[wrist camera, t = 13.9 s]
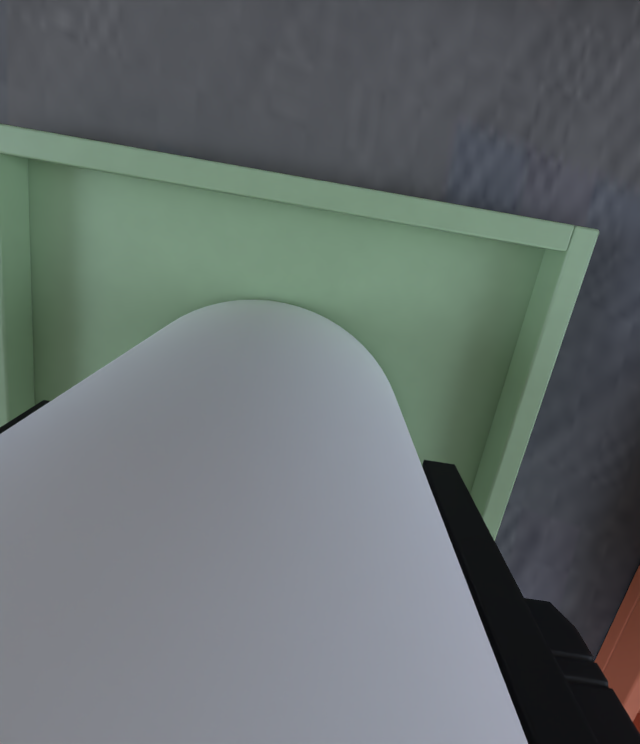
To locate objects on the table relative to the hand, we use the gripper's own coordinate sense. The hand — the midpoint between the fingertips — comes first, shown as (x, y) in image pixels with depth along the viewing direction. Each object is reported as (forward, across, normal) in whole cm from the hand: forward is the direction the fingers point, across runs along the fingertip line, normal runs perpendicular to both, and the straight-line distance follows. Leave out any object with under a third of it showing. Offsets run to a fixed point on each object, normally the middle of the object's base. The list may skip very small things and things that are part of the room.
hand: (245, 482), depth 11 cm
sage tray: (+3, 0, 0) cm, 3 cm away
